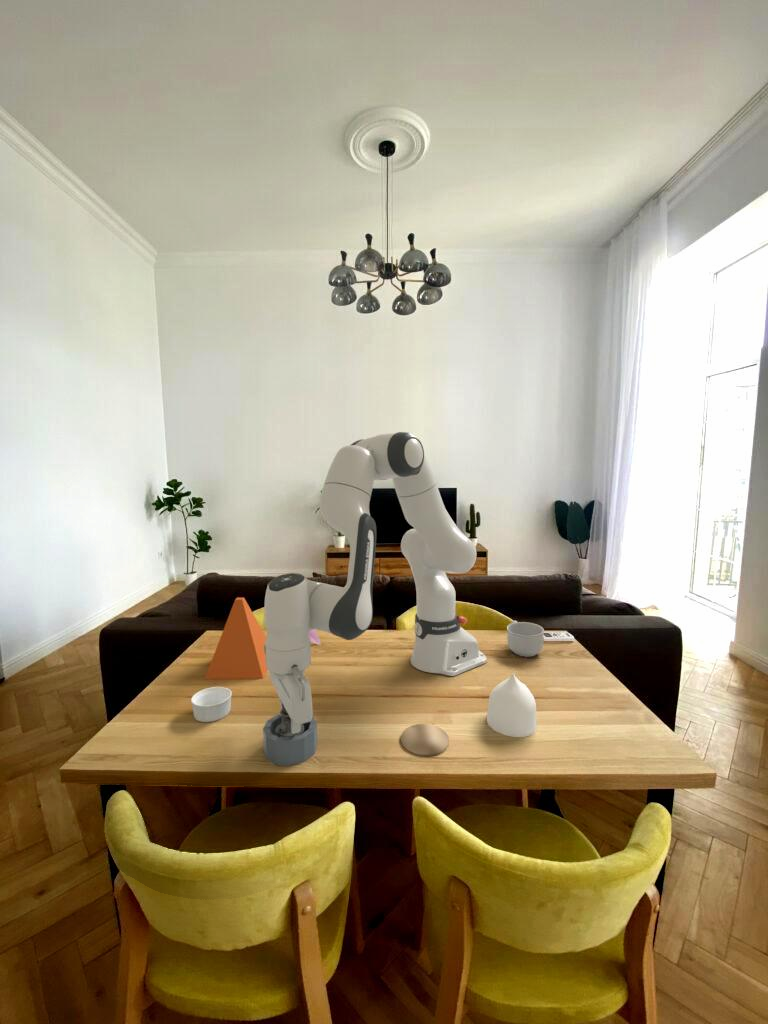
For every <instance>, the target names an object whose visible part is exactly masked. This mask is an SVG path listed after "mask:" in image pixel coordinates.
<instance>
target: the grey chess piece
mask: <svg viewBox="0 0 768 1024" xmlns="http://www.w3.org/2000/svg"><path fill="white" fill-rule="evenodd" d="M279 711H280V712H279V714H281V715H282V723H281V724H280V725H278V726H277V727H276V729H275V734H276V735H277V736H278V737H286V738H291V737H294V736H298V735H301V734H303V731H304V725H303V724H301V730H300V732H298V733H295V734H292V732H291V730H290V722H291V719H290V717H289V715H288V713H287V711H286V709H285V707H284V705H283V703H282V710H281V709H280V710H279Z"/></svg>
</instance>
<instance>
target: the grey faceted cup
mask: <svg viewBox="0 0 768 1024" xmlns="http://www.w3.org/2000/svg"><path fill="white" fill-rule="evenodd" d="M281 723H282V715H281V714H280V713H276V715H274V716H273V717H271V718H269V719H267V721H266V722H265V724H264V726H263V728H262V739H263V741H262V742H263V753H264V756H265V760H266V761H268V762H270V763H271V764H274V765H275V766H289V767H291V766H294V765H298V764H301V763H303V762H307V760H308V759H309V758H311V757H312V756H314V755H315V753H316V750H317V746H318V722H317V720H316V718H315V717H314V715H313V716H312V719H311V721H310V722H307V723H303V725H304V731H303V734H301V735H298V736H294V737H291V738H286V737H278V736H277V735H276V734H275V729H276V727H277V726H278V725H280V724H281Z"/></svg>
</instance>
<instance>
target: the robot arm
mask: <svg viewBox="0 0 768 1024" xmlns="http://www.w3.org/2000/svg"><path fill="white" fill-rule="evenodd" d="M390 479H392V481H393V482H392V483H393V487H394V490H395V493H396V497H397V499H398V502H399V505H400V507H401V511H402V513H403V516H404V519H405V520H406V522H407V523H408V524H409V525H410V526H411V527H413V528H410V529H409V530H407V531H406V532H405V533H404V534H403V536H402V539H401V542H400V551H401V553H402V555H403V556H404V557H405V559H406V560H407V562H408V564H409V567H410V570H411V573H412V576H413V580H414V584H415V591H416V614H415V616H414V631H415V633H414V634H415V641H414V645H413V650H412V655H411V658H410V664H411V665H412V666H413V667H414V668H416V669H417V670H419V671H421V672H425V673H430V674H440V675H445V676H448V677H449V676H450V677H454V676H457V675H459V674H462V673H464V672H467V671H469V670H472V669H475V668H476V667H479V666H481V665H484V664H486V663H487V662H488V661H487V660H488V659H487V656H486V655H485V654H484V653H483V652H482V651H480V649H479V643H478V640H477V639H476V638H475V637H474V636H473V635H472V634H471V633H469V632H468V631H466V630H465V629H464V628H463V627H461V625H463V626H465V625H466V624H467V623H468V618H467V617H464V616H463V615H461V616H459V615H458V614H456V594H457V593H456V590H455V587H454V585H453V584H452V583H451V581H450V580H449V578H448V576H447V574H446V573H448V574H466V573H467V572H469V571H471V569H472V568H473V567H474V565H475V563H476V561H477V560H476V559H477V548H476V545H475V543H474V542H473V541H472V540H471V539H470V538H468V536H466V535H465V534H464V533H463V532H462V531H461V530H460V529H459V527H458V525H456V523H455V522H454V520H453V519H452V517H451V515H450V514H449V512H448V511H447V509H446V506H445V504H444V501H443V499H442V496H441V493H440V490H439V487H438V484H437V481H436V478H435V475H434V473H433V470H432V468H431V465H430V464H429V462H428V460H427V457H426V456H425V449H424V446H423V444H422V442H421V440H420V439H419V438H418V437H417V436H416V435H415V434H413V433H410V432H406V431H401V432H400V431H399V432H396V433H395V432H394V433H382V434H377V435H374V436H371V437H367V438H365V439H363V438H361V439H358V440H355V441H354V442H352V443H351V444H350V445H349V444H348V445H345V446H343V447H341V448H340V449H339V450H337V452H336V454H335V456H334V458H333V460H332V463H331V464H330V467H329V469H328V471H327V474H326V477H325V480H324V483H323V487H322V490H321V494H320V498H319V504H318V505H319V512H320V513H321V514H320V515H321V516H322V518H323V520H324V521H325V523H327V525H329V526H330V528H333V529H335V530H336V531H337V532H338V533H340V534H341V535H343V536H344V537H345V538H346V539H347V541H348V543H349V548H350V550H349V560H348V569H347V570H348V571H347V578H346V580H347V581H346V583H345V586H344V587H343V586H338V585H334V584H328V583H323V582H319V581H313V580H310V579H308V578H306V577H305V576H304V575H303V574H300V573H295V572H293V573H292V572H291V573H290V572H289V573H285V574H281V575H278V576H276V577H274V578H273V579H271V580H269V582H268V583H267V587H266V590H265V596H264V606H263V607H264V610H263V612H264V613H263V615H264V616H263V617H264V626H265V628H266V642H265V643H264V651H265V654H266V668H267V671H268V673H269V678H270V682H271V683H272V686H273V688H274V689H275V691H276V693H277V695H278V698H279V700H278V701H279V703H280V704H279V706H280V711H281V710H282V703H283V705H284V707H285V709H286V711H287V713H288V715H289V717H290V719H291V722H290V730H291V732H292V734H295V733H298V732H300V730H301V724H303V723H307V722H310V721H311V719H312V716H313V717H314V715H313V714H314V713H313V702H312V701H313V699H312V697H313V696H312V689H311V684H310V681H309V679H308V678H307V676H306V675H305V674H304V673H305V671H306V669H307V668H309V667H310V665H311V664H312V652H311V651H312V650H311V649H312V647H311V646H312V645H311V643H312V642H311V639H310V635H309V632H310V630H312V629H317V631H321V632H325V633H329V634H332V635H334V636H336V637H339V638H341V639H344V640H345V641H353V640H354V639H356V638H358V637H360V636H361V635H363V634H364V633H365V632H366V631H367V630H368V629H369V627H370V626H371V624H372V622H373V616H374V615H373V614H374V605H373V604H374V603H373V586H374V583H373V582H374V573H375V572H374V571H375V570H374V569H375V559H376V549H377V548H376V547H377V524H376V520H375V519H374V518H373V517H372V515H371V513H370V501H371V497H372V492H373V487H374V481H386V480H390ZM460 624H461V625H460Z"/></svg>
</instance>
